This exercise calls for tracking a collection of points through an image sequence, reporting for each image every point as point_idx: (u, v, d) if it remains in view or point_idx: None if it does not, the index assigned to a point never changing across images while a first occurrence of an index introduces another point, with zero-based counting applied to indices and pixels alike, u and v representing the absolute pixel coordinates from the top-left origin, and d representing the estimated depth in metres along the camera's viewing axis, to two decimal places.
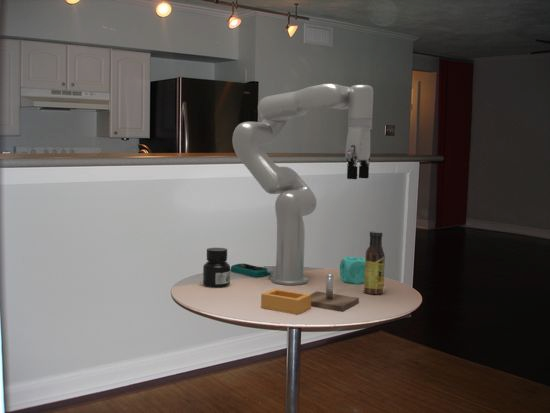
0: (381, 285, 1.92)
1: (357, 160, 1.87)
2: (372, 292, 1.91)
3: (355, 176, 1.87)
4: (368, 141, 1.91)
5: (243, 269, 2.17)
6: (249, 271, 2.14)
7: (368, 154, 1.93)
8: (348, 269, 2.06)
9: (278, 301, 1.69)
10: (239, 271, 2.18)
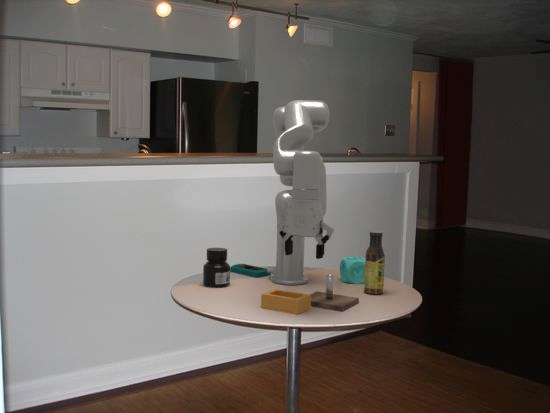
0: (381, 285, 1.92)
1: (320, 236, 1.67)
2: (372, 292, 1.91)
3: None
4: None
5: (243, 269, 2.17)
6: (249, 271, 2.14)
7: None
8: (348, 269, 2.06)
9: (278, 301, 1.69)
10: (239, 271, 2.18)
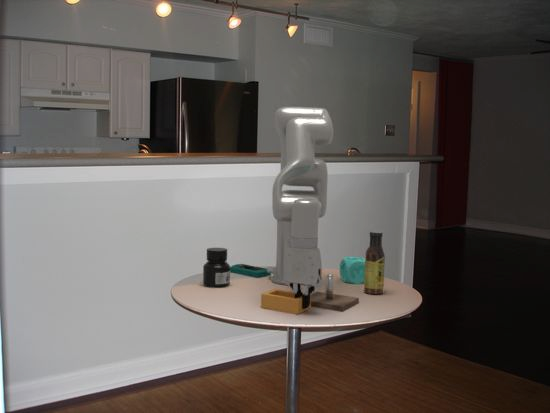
0: (381, 285, 1.92)
1: (310, 285, 1.70)
2: (372, 292, 1.91)
3: None
4: None
5: (243, 269, 2.16)
6: (250, 271, 2.14)
7: None
8: (348, 269, 2.06)
9: (278, 301, 1.69)
10: (239, 271, 2.17)
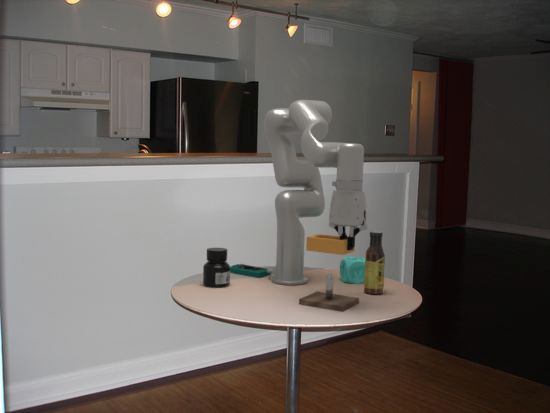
0: (381, 285, 1.92)
1: (354, 227, 1.75)
2: (372, 292, 1.91)
3: None
4: None
5: (243, 270, 2.16)
6: (250, 272, 2.14)
7: None
8: (348, 269, 2.06)
9: (323, 243, 1.74)
10: (239, 272, 2.17)
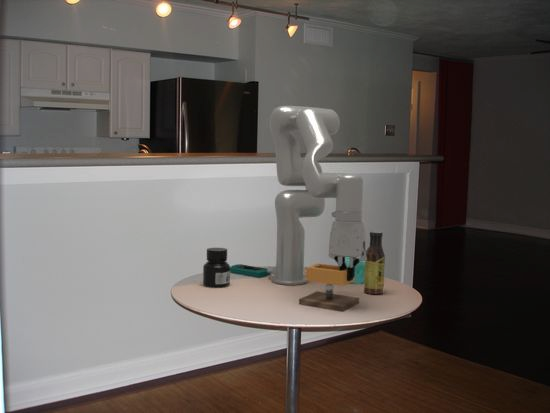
0: (381, 285, 1.92)
1: (354, 258, 1.75)
2: (372, 292, 1.91)
3: None
4: None
5: (244, 270, 2.16)
6: (251, 272, 2.14)
7: None
8: None
9: (323, 274, 1.75)
10: (239, 272, 2.17)
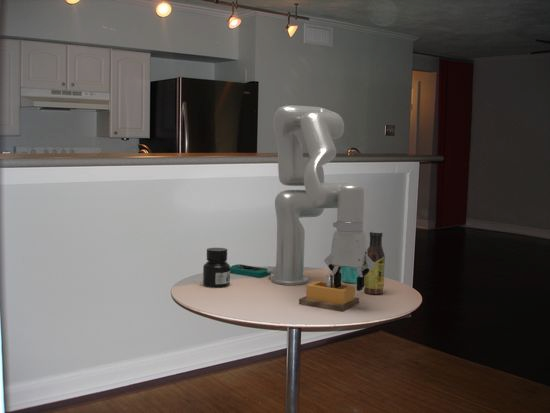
0: (381, 285, 1.92)
1: None
2: (372, 292, 1.91)
3: None
4: None
5: (244, 270, 2.15)
6: (251, 272, 2.14)
7: None
8: (348, 269, 2.06)
9: (323, 292, 1.75)
10: (239, 272, 2.16)
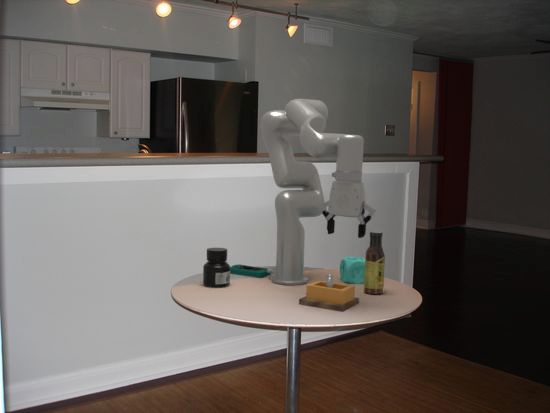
0: (381, 285, 1.92)
1: (362, 216, 1.75)
2: (372, 292, 1.91)
3: None
4: None
5: (244, 270, 2.15)
6: (252, 272, 2.13)
7: None
8: (348, 269, 2.06)
9: (323, 292, 1.75)
10: (239, 272, 2.16)
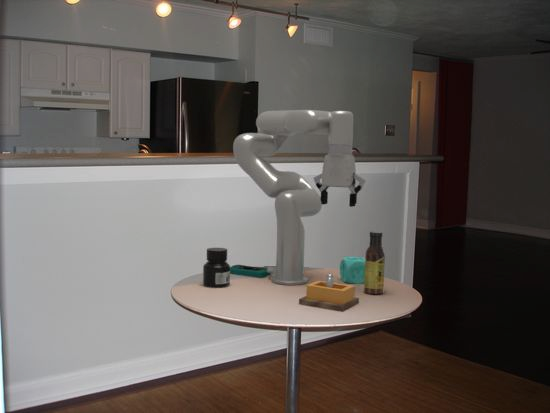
0: (381, 285, 1.92)
1: (353, 187, 1.88)
2: (372, 292, 1.91)
3: None
4: None
5: (244, 270, 2.15)
6: (252, 272, 2.13)
7: None
8: (348, 269, 2.06)
9: (323, 292, 1.75)
10: (239, 272, 2.16)
